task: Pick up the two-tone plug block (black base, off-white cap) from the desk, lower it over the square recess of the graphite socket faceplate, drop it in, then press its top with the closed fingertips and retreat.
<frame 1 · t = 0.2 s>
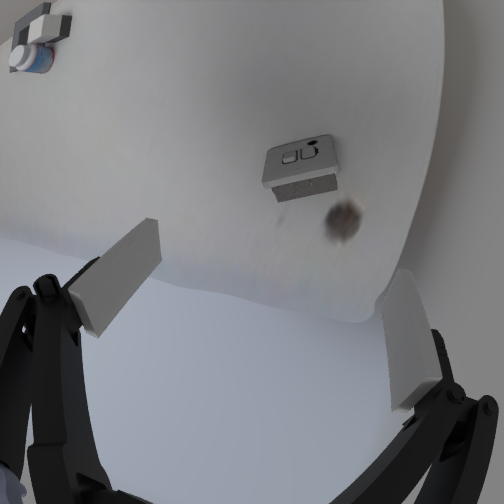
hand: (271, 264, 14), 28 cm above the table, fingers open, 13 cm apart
electrical switch: (305, 158, 38), on the table
pill bottle: (47, 61, 35), on the table, touching plug, socket plate
socket plate: (31, 38, 31), on the table
plug: (63, 29, 30), on the table, touching pill bottle
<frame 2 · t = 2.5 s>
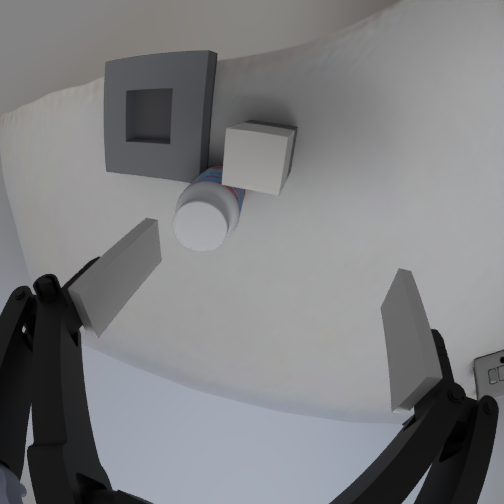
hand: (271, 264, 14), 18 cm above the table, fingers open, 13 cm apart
electrical switch: (489, 360, 36), on the table
pill bottle: (219, 189, 33), on the table, touching socket plate
socket plate: (158, 113, 29), on the table
plug: (271, 145, 28), on the table
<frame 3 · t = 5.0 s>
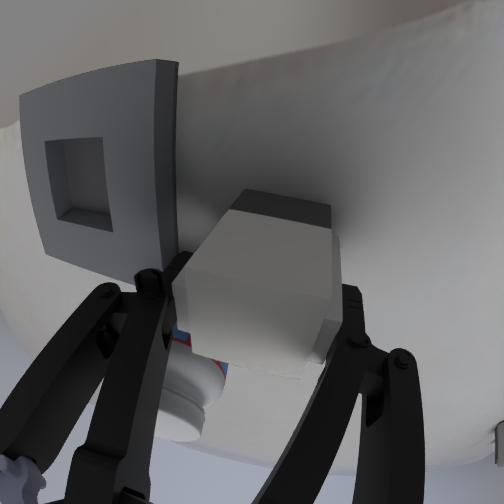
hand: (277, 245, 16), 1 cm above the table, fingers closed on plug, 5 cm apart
pill bottle: (201, 291, 21), on the table, touching socket plate
socket plate: (96, 172, 18), on the table
plug: (281, 234, 17), on the table, touching gripper
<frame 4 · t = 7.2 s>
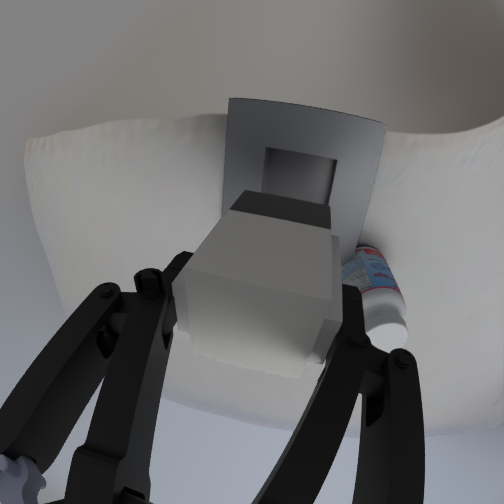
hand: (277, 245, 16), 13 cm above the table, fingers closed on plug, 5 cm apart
pill bottle: (359, 266, 30), on the table, touching socket plate
socket plate: (298, 179, 27), on the table
plug: (281, 235, 17), point 12 cm above the table, touching gripper
when the fingers open (5 cm above the table, at t = 9.6 s): plug drops 3 cm, resting on socket plate.
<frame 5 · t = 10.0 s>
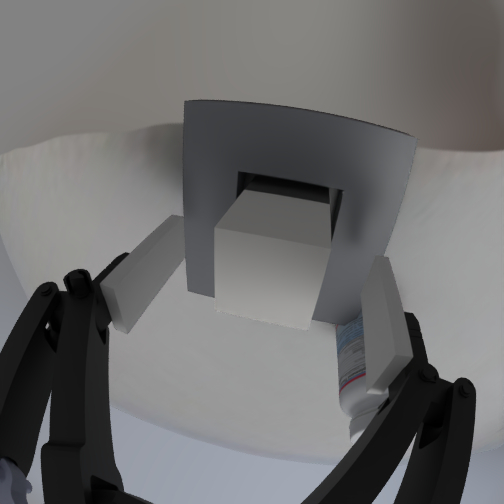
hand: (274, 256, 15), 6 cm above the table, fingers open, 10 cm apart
pill bottle: (366, 319, 23), on the table, touching socket plate
socket plate: (287, 212, 20), on the table
plug: (287, 214, 19), resting on socket plate
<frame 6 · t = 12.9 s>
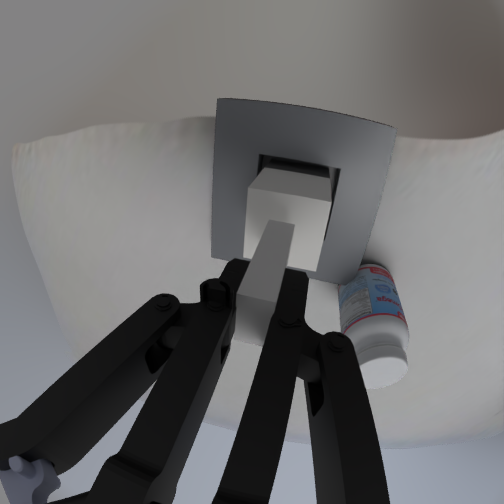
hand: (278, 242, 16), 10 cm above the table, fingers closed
pill bottle: (365, 284, 27), on the table, touching socket plate
socket plate: (296, 189, 24), on the table
plug: (296, 190, 24), resting on socket plate
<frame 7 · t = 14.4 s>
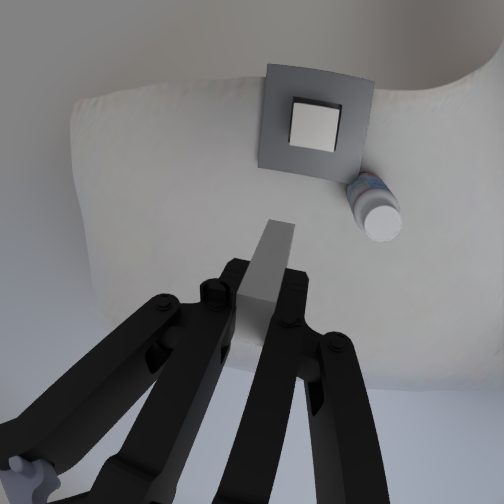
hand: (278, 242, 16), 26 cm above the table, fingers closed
pill bottle: (365, 190, 38), on the table, touching socket plate
socket plate: (315, 121, 35), on the table
plug: (315, 122, 34), resting on socket plate
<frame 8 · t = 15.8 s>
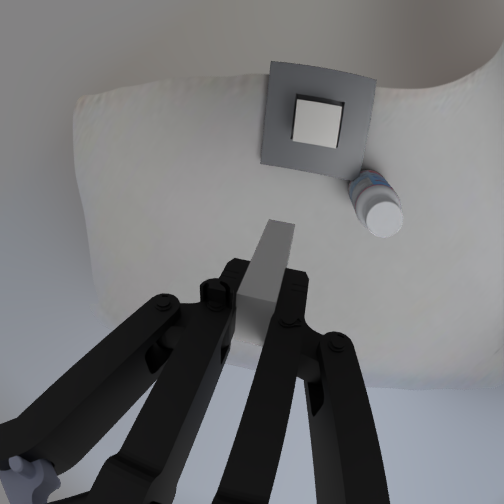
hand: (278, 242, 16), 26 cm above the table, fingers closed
pill bottle: (366, 187, 38), on the table, touching socket plate
socket plate: (317, 119, 35), on the table
plug: (317, 119, 34), resting on socket plate
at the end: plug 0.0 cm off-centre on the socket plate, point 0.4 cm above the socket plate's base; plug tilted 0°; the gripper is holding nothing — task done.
